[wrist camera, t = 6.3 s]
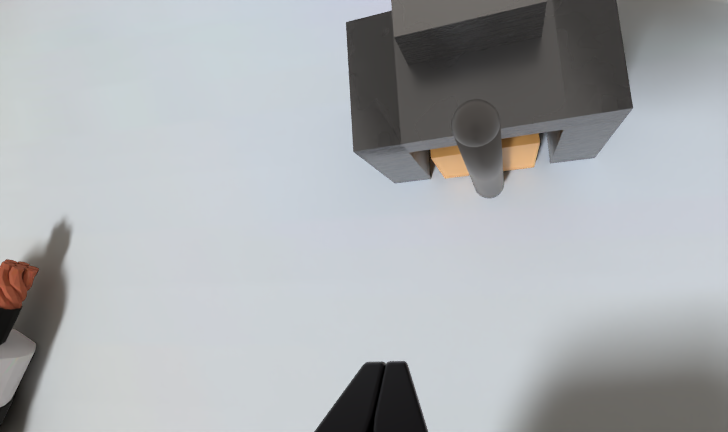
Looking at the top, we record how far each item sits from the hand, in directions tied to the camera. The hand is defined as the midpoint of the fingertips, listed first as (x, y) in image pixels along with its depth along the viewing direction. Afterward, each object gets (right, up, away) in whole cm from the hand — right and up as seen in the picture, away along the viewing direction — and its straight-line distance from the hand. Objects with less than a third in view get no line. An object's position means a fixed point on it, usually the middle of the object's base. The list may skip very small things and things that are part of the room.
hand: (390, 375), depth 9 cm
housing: (+6, +8, +14) cm, 17 cm away
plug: (+6, +8, +14) cm, 17 cm away
